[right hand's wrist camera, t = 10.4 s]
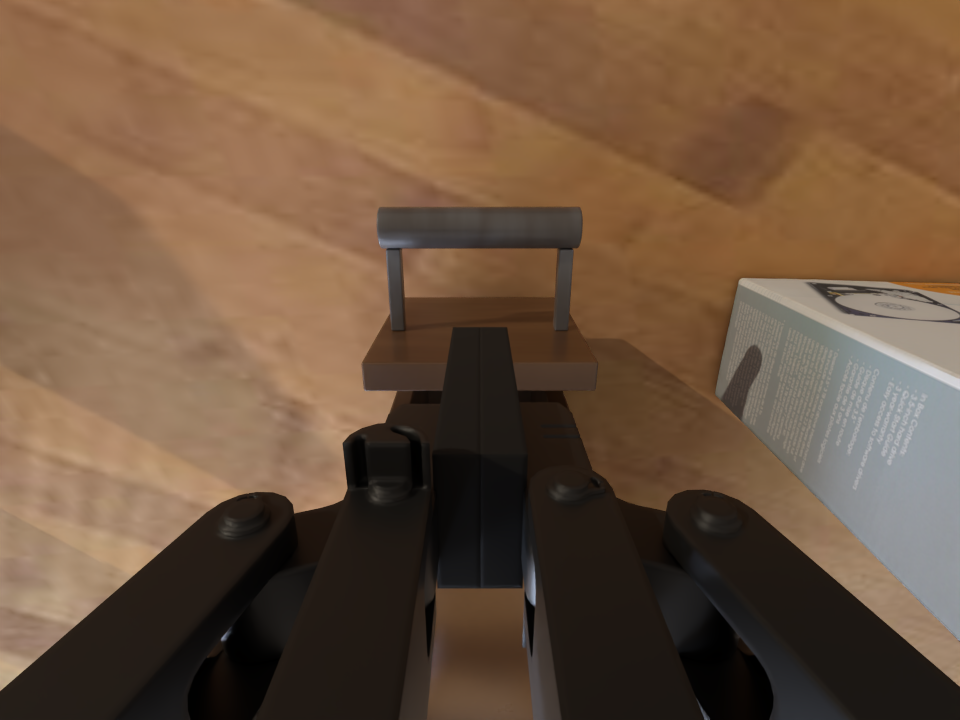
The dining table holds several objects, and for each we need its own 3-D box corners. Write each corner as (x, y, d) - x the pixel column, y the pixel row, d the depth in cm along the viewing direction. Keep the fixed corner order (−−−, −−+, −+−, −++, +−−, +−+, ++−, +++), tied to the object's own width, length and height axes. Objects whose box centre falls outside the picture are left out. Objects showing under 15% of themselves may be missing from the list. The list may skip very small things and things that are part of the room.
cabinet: (399, 431, 32) (360, 566, 22) (559, 431, 32) (599, 566, 22) (415, 672, 40) (392, 857, 29) (544, 672, 40) (567, 857, 29)
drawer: (392, 197, 26) (347, 217, 17) (566, 196, 26) (612, 217, 17) (415, 582, 35) (394, 725, 27) (543, 582, 35) (565, 724, 27)
